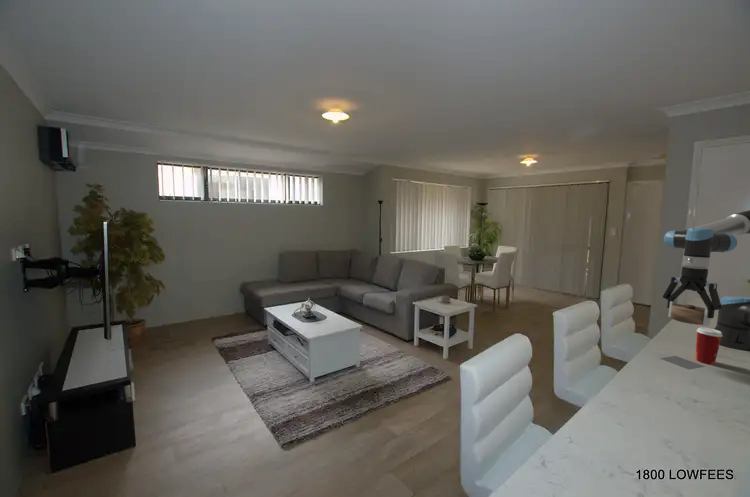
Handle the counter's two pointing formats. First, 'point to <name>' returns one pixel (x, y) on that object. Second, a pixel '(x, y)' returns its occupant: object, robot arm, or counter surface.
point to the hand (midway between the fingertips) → (688, 321)
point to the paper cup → (707, 345)
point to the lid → (687, 314)
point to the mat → (682, 362)
